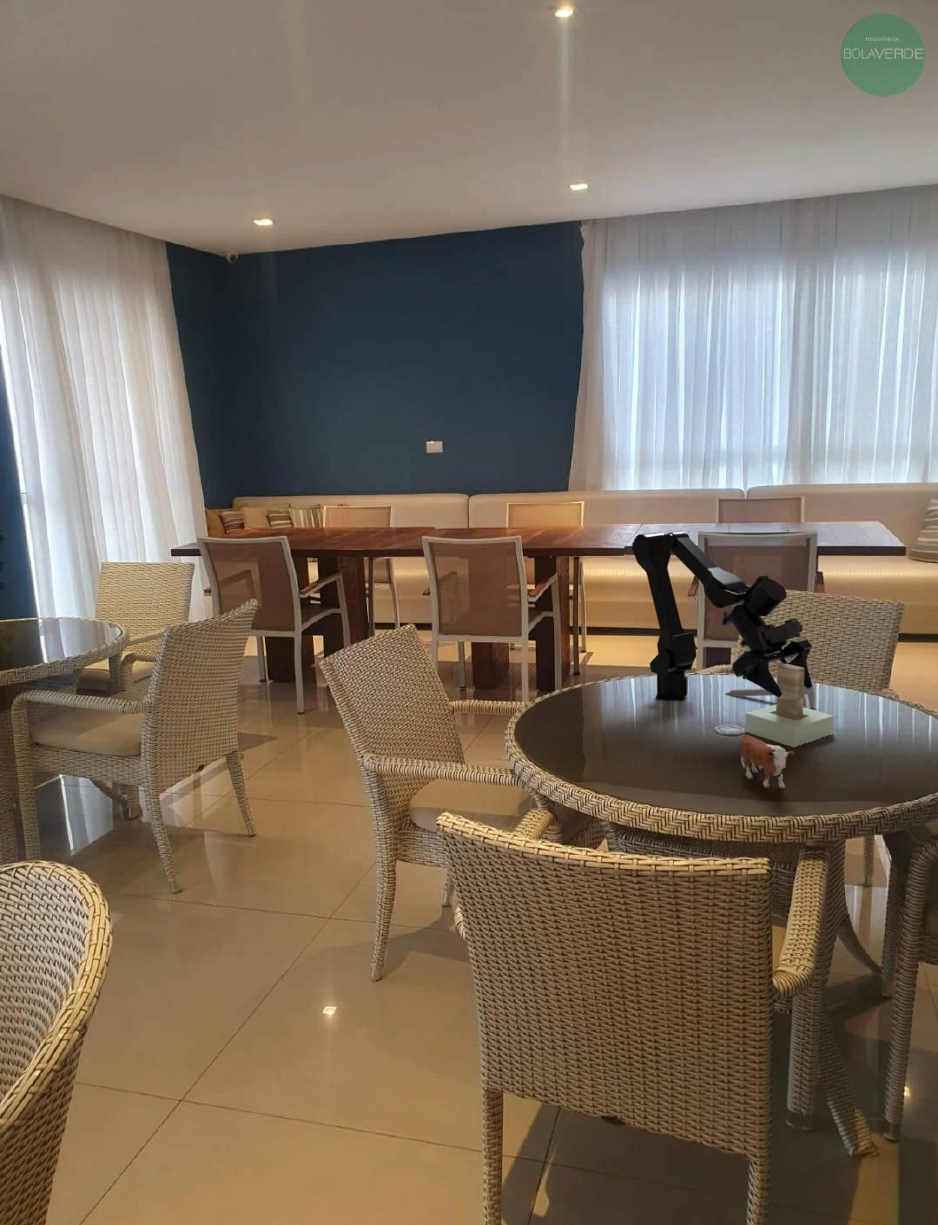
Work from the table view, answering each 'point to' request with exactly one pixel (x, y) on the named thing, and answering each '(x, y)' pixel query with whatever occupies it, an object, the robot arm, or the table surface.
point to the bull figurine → (763, 758)
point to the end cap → (789, 726)
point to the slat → (790, 691)
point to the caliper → (764, 692)
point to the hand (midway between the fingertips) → (795, 691)
